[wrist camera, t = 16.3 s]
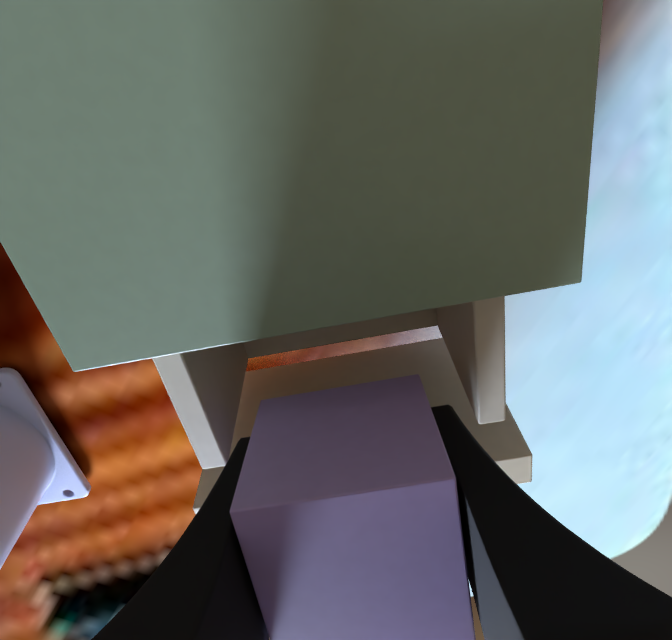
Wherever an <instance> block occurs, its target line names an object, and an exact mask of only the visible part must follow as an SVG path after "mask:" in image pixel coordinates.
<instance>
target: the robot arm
mask: <svg viewBox="0 0 672 640" xmlns="http://www.w3.org/2000/svg"><path fill="white" fill-rule="evenodd" d="M431 410H432V412H433V415H434V418H435V421H436V424H437V426H438V429H439V432H440V435H441V438H442V440H443V443H444V446H445V449H446V452H447V454H448V457H449V460H450V463H451V466H452V468H453V471H454V474H455V477H456V484H457V492H458V500H459V508H460V516H461V524H462V532H463V540H464V549H465V557H466V565H467V573H468V579H469V582H470V585H471V588H472V592H473V595H474V599H475V603H476V607H477V611H478V615H479V619H480V623H481V627H482V631H483V634H484V638H485V640H672V597H670V596H669V595H667V594H665V593H664V592H662V591H660V590H658V589H656V588H655V587H653V586H652V585H650V584H648V583H646V582H645V581H643V580H642V579H640V578H638V577H637V576H635V575H633V574H632V573H630V572H629V571H627V570H626V569H624V568H622V567H621V566H619V565H618V564H616V563H615V562H613V561H612V560H610V559H609V558H607V557H606V556H604V555H603V554H601V553H600V552H599V551H597V550H596V549H595V548H593V547H592V546H591V545H589V544H588V543H586V542H585V541H584V540H582V539H581V538H580V537H578V536H577V535H576V534H574V533H573V532H571V531H570V530H569V529H567V528H566V527H565V526H564V525H562V524H561V523H560V522H559V521H557V520H556V519H555V518H554V517H553V516H551V515H550V514H549V513H548V512H547V511H545V510H544V509H543V508H542V507H541V506H540V505H538V504H537V503H536V502H535V501H534V500H533V499H532V498H531V497H530V496H528V495H527V494H526V493H525V492H524V491H523V490H522V489H521V488H520V487H519V486H518V485H517V484H516V483H515V482H514V481H513V480H512V479H511V478H510V477H509V476H508V475H507V474H506V473H505V472H504V471H503V470H502V469H501V468H500V467H499V466H498V465H497V464H496V462H495V461H494V460H493V459H492V458H491V457H490V456H489V454H488V453H487V452H486V451H485V450H484V449H483V448H482V446H481V445H480V444H479V443H478V442H477V440H476V439H475V438H474V437H473V435H472V434H471V433H470V432H469V430H468V429H467V428H466V426H465V425H464V424H463V422H462V421H461V419H460V418H459V416H458V415H457V413H456V412H455V410H454V409H453V407H452V406H450V405H442V406H436V407H431ZM249 440H250V437H244V438H240V440H239V441H238V442H237V444H236V446H235V448H234V450H233V452H232V454H231V456H230V458H229V459H228V461H227V463H226V465H225V467H224V469H223V470H222V472H221V474H220V476H219V478H218V479H217V481H216V483H215V484H214V486H213V488H212V489H211V491H210V493H209V495H208V496H207V498H206V500H205V501H204V503H203V505H202V506H201V508H200V509H199V511H198V512H197V514H196V515H195V517H194V518H193V520H192V521H191V523H190V524H189V526H188V527H187V529H186V531H185V532H184V533H183V535H182V536H181V538H180V539H179V541H178V542H177V543H176V545H175V546H174V547H173V549H172V550H171V551H170V553H169V554H168V555H167V557H166V558H165V559H164V561H163V562H162V563H161V564H160V566H159V567H158V568H157V569H156V571H155V572H154V573H153V574H152V575H151V577H150V578H149V579H148V580H147V581H146V582H145V584H144V585H143V586H142V587H141V588H140V589H139V591H138V592H137V593H136V594H135V595H134V596H133V597H132V599H131V600H130V601H129V602H128V603H127V604H126V605H125V606H124V607H123V608H122V609H121V610H120V611H119V612H118V613H117V614H116V616H115V617H114V618H113V619H112V620H111V621H110V622H109V623H108V624H107V625H106V626H105V627H104V628H103V629H102V630H101V631H100V632H99V633H98V634H97V635H96V636H95V637H94V638H92V639H91V640H269V634H268V631H267V628H266V625H265V622H264V619H263V615H262V612H261V609H260V606H259V603H258V600H257V597H256V593H255V590H254V587H253V584H252V581H251V578H250V575H249V572H248V568H247V565H246V562H245V559H244V556H243V553H242V550H241V546H240V543H239V540H238V537H237V534H236V531H235V528H234V525H233V521H232V518H231V515H230V508H231V505H232V501H233V498H234V494H235V490H236V487H237V483H238V480H239V476H240V473H241V469H242V465H243V462H244V458H245V455H246V451H247V448H248V444H249ZM90 489H91V486H90V484H89V482H88V480H87V479H86V477H85V476H84V474H83V473H82V471H81V469H80V468H79V466H78V465H77V463H76V461H75V460H74V458H73V457H72V455H71V454H70V452H69V450H68V449H67V447H66V446H65V444H64V443H63V441H62V439H61V438H60V436H59V435H58V433H57V431H56V430H55V428H54V427H53V425H52V424H51V422H50V420H49V419H48V417H47V416H46V414H45V413H44V411H43V409H42V408H41V406H40V405H39V403H38V401H37V400H36V398H35V397H34V395H33V394H32V392H31V390H30V389H29V387H28V386H27V384H26V383H25V381H24V379H23V378H22V376H21V375H20V374H19V373H18V371H16V370H14V369H12V368H0V569H1V567H2V565H3V564H4V562H5V560H6V558H7V557H8V555H9V553H10V551H11V550H12V548H13V546H14V545H15V543H16V541H17V539H18V538H19V536H20V534H21V532H22V531H23V529H24V527H25V525H26V524H27V522H28V520H29V518H30V517H31V515H32V513H33V511H34V510H35V508H36V506H37V505H40V504H46V503H53V502H59V501H65V500H71V499H77V498H83V497H86V496H87V495H88V494H89V492H90Z"/></svg>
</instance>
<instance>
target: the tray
mask: <svg viewBox="0 0 672 640" xmlns="http://www.w3.org/2000/svg"><path fill="white" fill-rule="evenodd" d="M436 325H438V327H439V330H440V332H441V334H442V337H443V338H439V339H433V340H428V341H422V342H416V343H410V344H404V345H399V346H393V347H387V348H381V349H375V350H370V351H364V352H358V353H352V354H347V355H341V356H335V357H329V358H323V359H318V360H312V361H306V362H300V363H294V364H289V365H283V366H277V367H271V368H265V369H260V370H254V371H248V372H246V367H247V362H248V358H253V357H259V356H264V355H270V354H276V353H281V352H287V351H293V350H299V349H304V348H310V347H316V346H322V345H327V344H333V343H339V342H345V341H350V340H356V339H362V338H368V337H373V336H379V335H385V334H391V333H396V332H402V331H408V330H413V329H419V328H425V327H431V326H436ZM152 359H153V361H154V363H155V366H156V368H157V370H158V372H159V374H160V377H161V379H162V381H163V383H164V385H165V388H166V390H167V392H168V394H169V396H170V399H171V401H172V403H173V405H174V407H175V410H176V412H177V414H178V416H179V418H180V421H181V423H182V425H183V427H184V429H185V432H186V434H187V436H188V438H189V440H190V443H191V445H192V447H193V449H194V451H195V454H196V456H197V458H198V460H199V462H200V465H201V467H202V473H201V477H200V481H199V485H198V489H197V493H196V497H195V501H194V505H193V510H194V512H195V514H197V512H198V511H199V509H200V508H201V506H202V505H203V503H204V501H205V500H206V498H207V496H208V495H209V493H210V491H211V489H212V488H213V486H214V484H215V483H216V481H217V479H218V478H219V476H220V474H221V472H222V470H223V469H224V467H225V465H226V463H227V461H228V459H229V458H230V456H231V454H232V452H233V450H234V448H235V446H236V444H237V442H238V441H239V440H240V438H244V437H251V433H252V430H253V426H254V423H255V419H256V416H257V412H258V408H259V405H260V401H261V400H265V399H271V398H277V397H283V396H289V395H295V394H301V393H307V392H313V391H319V390H325V389H331V388H337V387H343V386H349V385H355V384H361V383H367V382H373V381H379V380H385V379H391V378H397V377H403V376H409V375H415V374H419V376H420V379H421V381H422V384H423V387H424V390H425V393H426V395H427V398H428V401H429V404H430V407H436V406H442V405H450V406H452V407H453V409H454V410H455V412H456V413H457V415H458V416H459V418H460V419H461V421H462V422H463V424H464V425H465V426H466V428H467V429H468V430H469V432H470V433H471V434H472V435H473V437H474V438H475V439H476V440H477V442H478V443H479V444H480V445H481V446H482V448H483V449H484V450H485V451H486V452H487V453H488V454H489V456H490V457H491V458H492V459H493V460H494V461H495V462H496V464H497V465H498V466H499V467H500V468H501V469H502V470H503V471H504V472H505V473H506V474H507V475H508V476H509V477H510V478H511V479H512V480H513V481H514V482H515V483H516V484H520V483H527V482H531V480H532V453H531V451H530V449H529V447H528V445H527V443H526V442H525V440H524V438H523V436H522V434H521V432H520V430H519V428H518V426H517V424H516V422H515V420H514V418H513V416H512V414H511V412H510V410H509V408H508V406H507V404H506V400H505V300H504V296H502V297H496V298H490V299H485V300H479V301H473V302H468V303H462V304H456V305H450V306H445V307H439V308H433V309H428V310H422V311H416V312H411V313H405V314H399V315H394V316H388V317H382V318H377V319H371V320H365V321H360V322H354V323H348V324H343V325H337V326H331V327H326V328H320V329H314V330H309V331H303V332H297V333H292V334H286V335H280V336H275V337H269V338H263V339H258V340H252V341H246V342H241V343H235V344H229V345H224V346H218V347H212V348H207V349H201V350H195V351H190V352H184V353H178V354H173V355H167V356H161V357H156V358H152Z"/></svg>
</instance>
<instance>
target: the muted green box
mask: <svg viewBox="0 0 672 640" xmlns="http://www.w3.org/2000/svg"><path fill="white" fill-rule="evenodd" d="M602 10H603V0H0V242H1V244H2V246H3V247H4V249H5V251H6V253H7V254H8V256H9V258H10V260H11V261H12V263H13V265H14V267H15V269H16V270H17V272H18V274H19V276H20V277H21V279H22V281H23V283H24V285H25V286H26V288H27V290H28V292H29V293H30V295H31V297H32V299H33V301H34V302H35V304H36V306H37V308H38V309H39V311H40V313H41V315H42V317H43V318H44V320H45V322H46V324H47V325H48V327H49V329H50V331H51V333H52V334H53V336H54V338H55V340H56V341H57V343H58V345H59V347H60V349H61V350H62V352H63V354H64V356H65V357H66V359H67V361H68V363H69V365H70V366H71V368H72V370H73V371H74V372H76V371H82V370H88V369H93V368H99V367H105V366H110V365H116V364H122V363H127V362H133V361H139V360H144V359H150V358H156V357H161V356H167V355H173V354H178V353H184V352H190V351H195V350H201V349H207V348H212V347H218V346H224V345H229V344H235V343H241V342H246V341H252V340H258V339H263V338H269V337H275V336H280V335H286V334H292V333H297V332H303V331H309V330H314V329H320V328H326V327H331V326H337V325H343V324H348V323H354V322H360V321H365V320H371V319H377V318H382V317H388V316H394V315H399V314H405V313H411V312H416V311H422V310H428V309H433V308H439V307H445V306H450V305H456V304H462V303H468V302H473V301H479V300H485V299H490V298H496V297H502V296H507V295H513V294H519V293H524V292H530V291H536V290H541V289H547V288H553V287H558V286H564V285H570V284H575V283H580V282H581V278H582V265H583V252H584V239H585V227H586V214H587V201H588V188H589V176H590V163H591V150H592V137H593V124H594V112H595V99H596V86H597V73H598V61H599V48H600V35H601V22H602Z"/></svg>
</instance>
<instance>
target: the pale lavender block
mask: <svg viewBox="0 0 672 640" xmlns="http://www.w3.org/2000/svg"><path fill="white" fill-rule="evenodd" d="M230 515H231V518H232V521H233V525H234V528H235V531H236V534H237V537H238V540H239V543H240V546H241V550H242V553H243V556H244V559H245V562H246V565H247V568H248V572H249V575H250V578H251V581H252V584H253V587H254V590H255V593H256V597H257V600H258V603H259V606H260V609H261V612H262V615H263V619H264V622H265V625H266V628H267V631H268V634H269V637H270V640H476V638H475V630H474V622H473V614H472V606H471V597H470V589H469V581H468V573H467V565H466V557H465V549H464V540H463V532H462V524H461V516H460V508H459V500H458V492H457V484H456V477H455V474H454V471H453V468H452V466H451V463H450V460H449V457H448V454H447V452H446V449H445V446H444V443H443V440H442V438H441V435H440V432H439V429H438V426H437V424H436V421H435V418H434V415H433V412H432V410H431V407H430V404H429V401H428V398H427V395H426V393H425V390H424V387H423V384H422V381H421V379H420V376H419V374H415V375H409V376H403V377H397V378H391V379H385V380H379V381H373V382H367V383H361V384H355V385H349V386H343V387H337V388H331V389H325V390H319V391H313V392H307V393H301V394H295V395H289V396H283V397H277V398H271V399H265V400H261V401H260V405H259V408H258V412H257V416H256V419H255V423H254V426H253V430H252V433H251V437H250V440H249V444H248V448H247V451H246V455H245V458H244V462H243V465H242V469H241V473H240V476H239V480H238V483H237V487H236V490H235V494H234V498H233V501H232V505H231V508H230Z"/></svg>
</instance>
